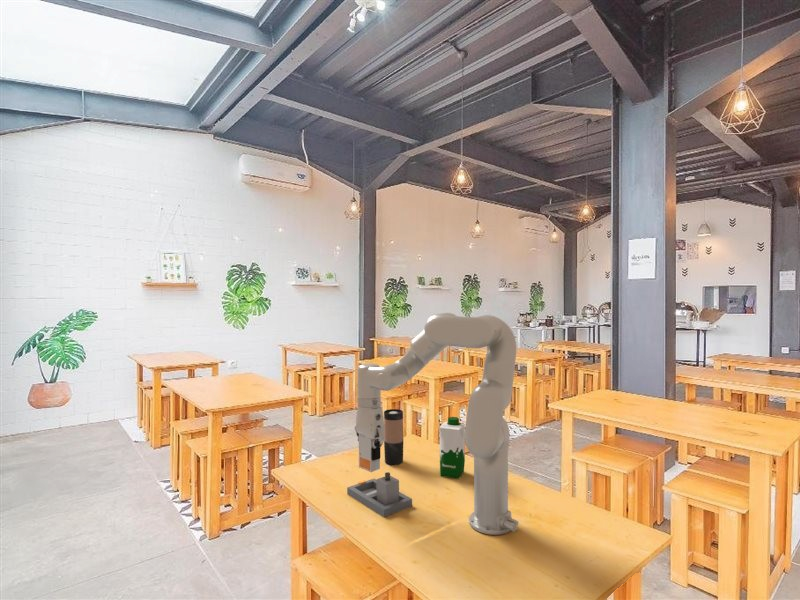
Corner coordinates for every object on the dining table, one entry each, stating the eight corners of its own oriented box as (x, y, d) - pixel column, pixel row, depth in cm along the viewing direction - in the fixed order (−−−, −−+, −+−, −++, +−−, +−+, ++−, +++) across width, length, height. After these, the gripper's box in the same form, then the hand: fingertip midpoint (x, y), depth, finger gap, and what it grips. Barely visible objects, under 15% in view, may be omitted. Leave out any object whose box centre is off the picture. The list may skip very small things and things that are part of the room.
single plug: (399, 505, 140) (398, 473, 140) (386, 510, 137) (386, 478, 137) (389, 499, 144) (389, 468, 144) (376, 504, 141) (376, 472, 141)
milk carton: (466, 471, 168) (466, 417, 167) (460, 480, 159) (460, 424, 159) (444, 467, 171) (443, 415, 171) (436, 476, 163) (436, 422, 162)
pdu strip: (412, 507, 140) (412, 496, 140) (384, 519, 133) (383, 507, 133) (374, 486, 155) (374, 476, 155) (347, 495, 148) (347, 485, 148)
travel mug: (407, 460, 179) (406, 410, 178) (396, 467, 172) (396, 415, 172) (391, 457, 183) (390, 408, 182) (380, 463, 176) (379, 412, 176)
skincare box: (358, 467, 148) (358, 431, 148) (367, 464, 151) (367, 428, 151) (371, 472, 144) (370, 435, 144) (380, 469, 147) (380, 432, 147)
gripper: (394, 405, 143) (394, 461, 143) (363, 395, 156) (363, 446, 157) (375, 409, 138) (375, 467, 139) (345, 398, 152) (345, 451, 152)
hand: (369, 455), depth 148 cm, fingers closed on skincare box, 6 cm apart
